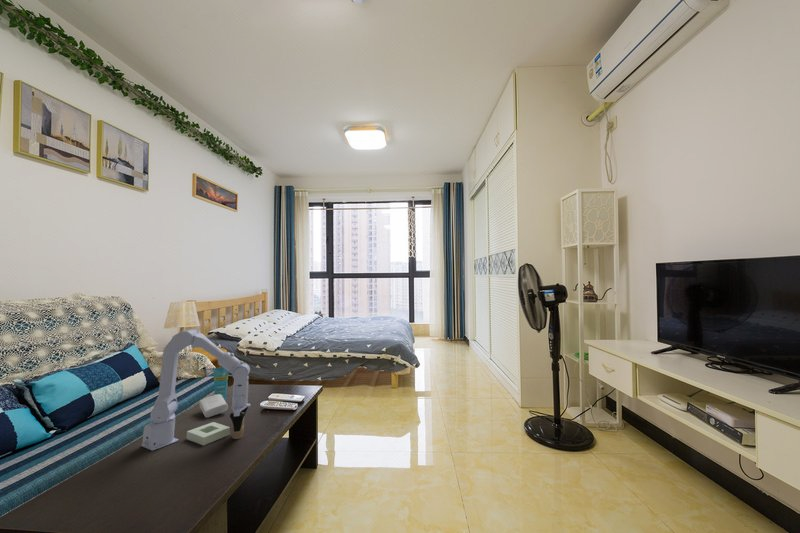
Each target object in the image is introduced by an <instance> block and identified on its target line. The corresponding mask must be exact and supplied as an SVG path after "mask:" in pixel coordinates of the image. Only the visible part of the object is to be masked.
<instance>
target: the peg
mask: <svg viewBox="0 0 800 533" xmlns="http://www.w3.org/2000/svg"><path fill="white" fill-rule="evenodd" d="M241 413H243V412H241ZM244 429H245V417H244V418H243V421H242V425H241V429H240V431H236V432H234V428H233V427H232V439H234V440H238V439H239V440H240V439H241V438H243V437H244Z"/></svg>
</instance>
